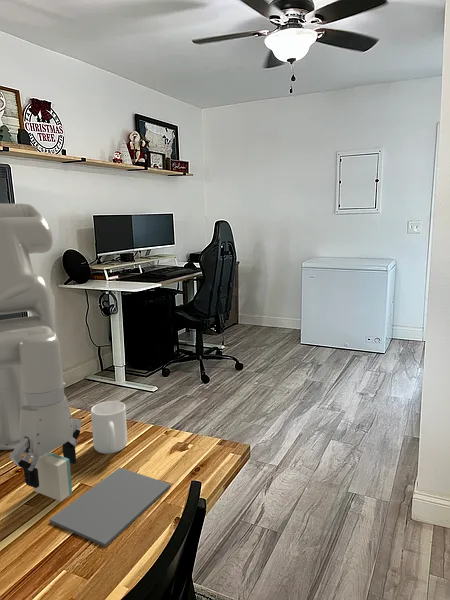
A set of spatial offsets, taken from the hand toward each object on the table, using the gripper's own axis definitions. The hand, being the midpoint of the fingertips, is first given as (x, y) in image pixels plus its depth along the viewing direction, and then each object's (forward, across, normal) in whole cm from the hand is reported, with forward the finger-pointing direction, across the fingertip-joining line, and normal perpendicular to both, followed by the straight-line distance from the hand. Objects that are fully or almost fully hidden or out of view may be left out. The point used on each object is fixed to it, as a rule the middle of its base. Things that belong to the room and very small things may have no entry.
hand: (52, 473), depth 94 cm
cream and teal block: (+5, 0, -1) cm, 5 cm away
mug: (+5, -19, -2) cm, 20 cm away
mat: (+5, -3, +13) cm, 14 cm away
